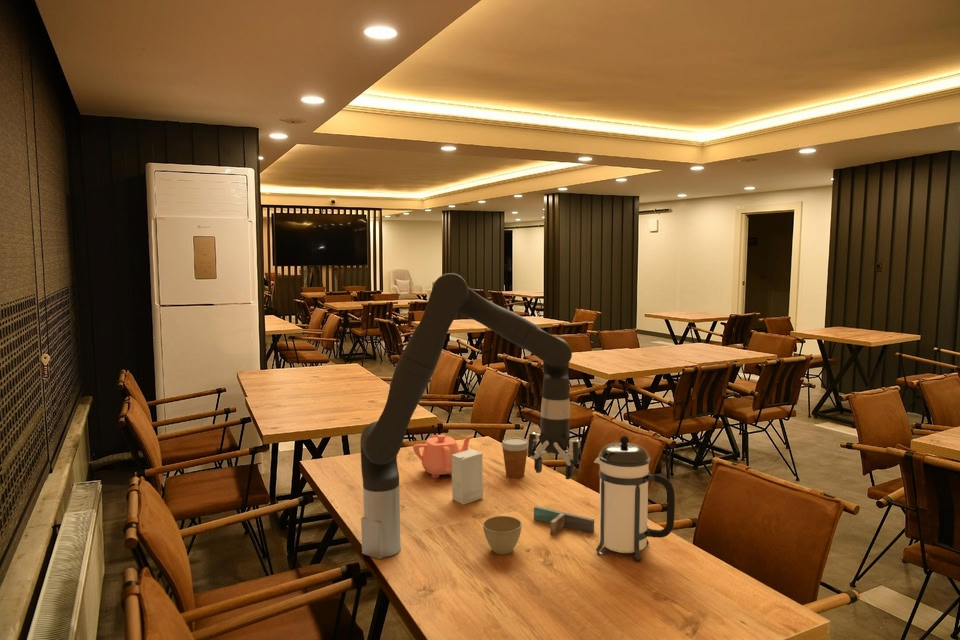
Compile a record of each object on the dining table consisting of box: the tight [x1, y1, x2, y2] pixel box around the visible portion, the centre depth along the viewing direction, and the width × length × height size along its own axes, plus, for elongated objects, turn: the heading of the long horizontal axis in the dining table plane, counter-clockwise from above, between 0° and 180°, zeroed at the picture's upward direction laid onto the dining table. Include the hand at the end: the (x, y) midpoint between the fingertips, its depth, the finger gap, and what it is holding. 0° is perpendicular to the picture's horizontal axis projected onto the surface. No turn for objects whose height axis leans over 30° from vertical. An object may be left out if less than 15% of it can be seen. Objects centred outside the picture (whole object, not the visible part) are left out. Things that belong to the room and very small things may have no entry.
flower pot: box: [482, 515, 523, 555], centre depth 164 cm, size 10×10×7 cm
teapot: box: [412, 434, 475, 479], centre depth 222 cm, size 16×17×14 cm
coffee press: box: [593, 435, 676, 562], centre depth 162 cm, size 17×16×30 cm
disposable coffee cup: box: [501, 437, 529, 479], centre depth 219 cm, size 10×10×12 cm
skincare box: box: [451, 448, 484, 505], centre depth 198 cm, size 8×6×15 cm
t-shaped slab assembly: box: [533, 505, 595, 536], centre depth 176 cm, size 8×18×4 cm, turn 58°
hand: (553, 475), depth 167 cm, fingers open, 8 cm apart
